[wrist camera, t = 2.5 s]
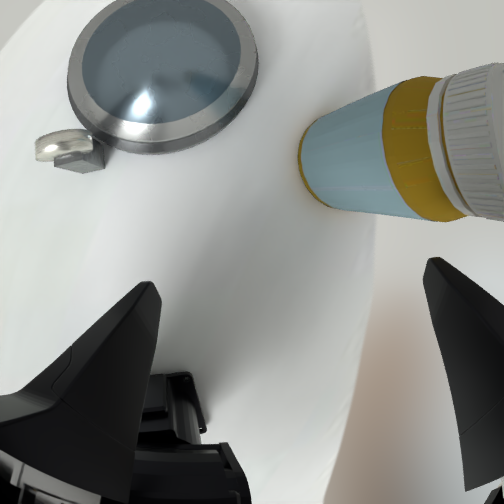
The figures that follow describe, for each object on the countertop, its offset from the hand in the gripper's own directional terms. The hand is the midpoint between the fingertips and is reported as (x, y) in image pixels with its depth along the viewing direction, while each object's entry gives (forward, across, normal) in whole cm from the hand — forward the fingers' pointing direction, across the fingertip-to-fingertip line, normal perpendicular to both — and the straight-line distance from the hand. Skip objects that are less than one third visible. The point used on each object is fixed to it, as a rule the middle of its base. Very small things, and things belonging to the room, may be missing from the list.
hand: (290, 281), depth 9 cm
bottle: (+14, -4, +2) cm, 15 cm away
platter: (+13, +7, -8) cm, 16 cm away
